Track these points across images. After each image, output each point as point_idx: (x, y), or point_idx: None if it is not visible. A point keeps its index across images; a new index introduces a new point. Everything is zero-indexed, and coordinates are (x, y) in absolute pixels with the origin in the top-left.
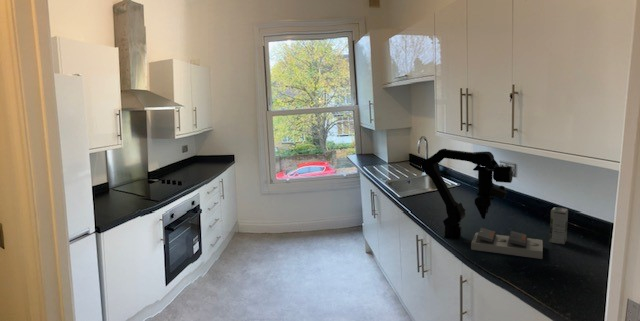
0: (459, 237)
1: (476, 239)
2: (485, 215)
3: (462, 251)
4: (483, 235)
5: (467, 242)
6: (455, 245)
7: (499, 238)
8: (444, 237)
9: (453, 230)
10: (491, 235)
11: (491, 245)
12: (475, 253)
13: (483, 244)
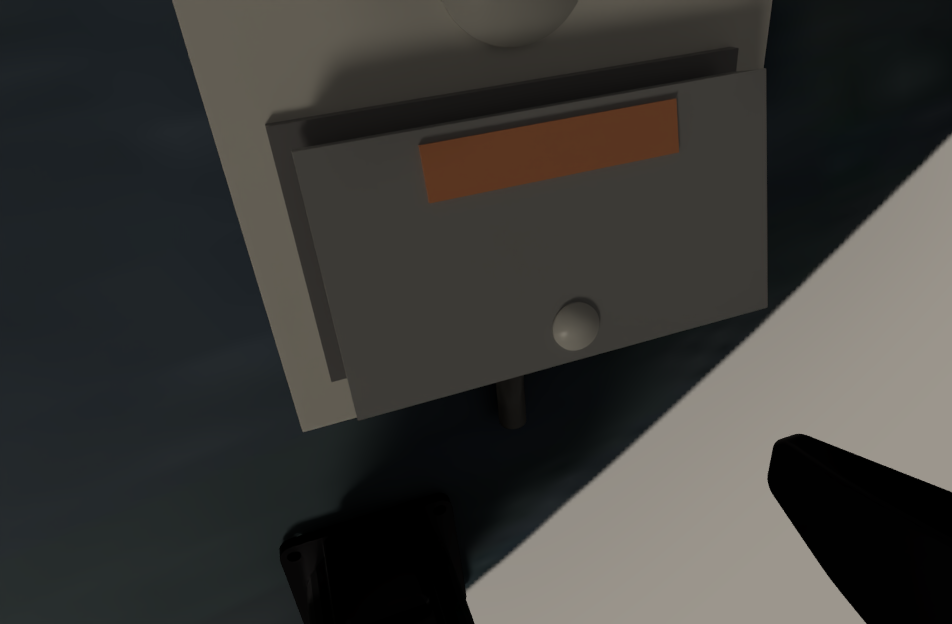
0: (385, 510)
1: None
2: (924, 482)
3: (750, 318)
4: (707, 242)
5: (523, 381)
6: (618, 431)
7: (410, 17)
8: (464, 592)
9: (469, 614)
10: (603, 142)
11: (760, 61)
12: (773, 198)
13: None
